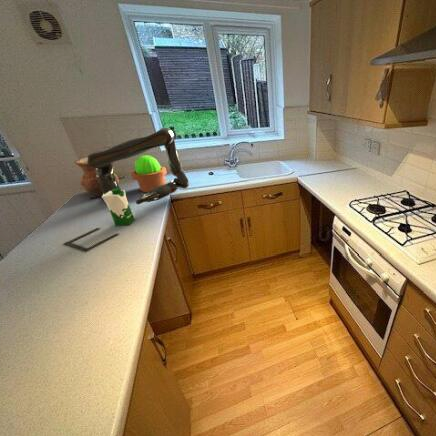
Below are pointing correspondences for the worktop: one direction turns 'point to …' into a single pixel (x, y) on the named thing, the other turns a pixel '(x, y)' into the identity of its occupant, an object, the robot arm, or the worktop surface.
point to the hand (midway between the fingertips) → (136, 202)
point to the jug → (91, 178)
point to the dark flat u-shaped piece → (89, 247)
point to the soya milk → (119, 207)
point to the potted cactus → (148, 173)
